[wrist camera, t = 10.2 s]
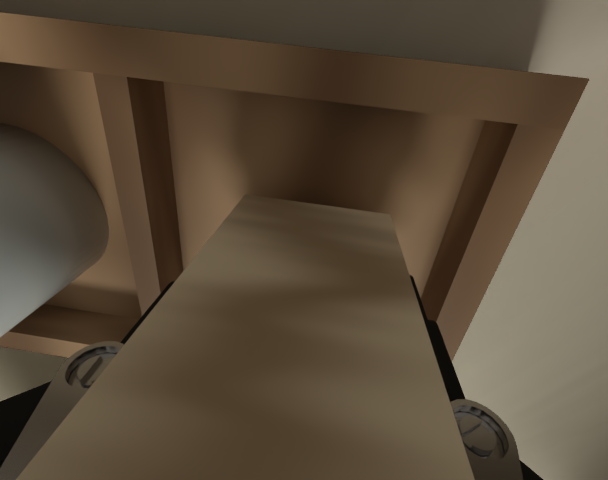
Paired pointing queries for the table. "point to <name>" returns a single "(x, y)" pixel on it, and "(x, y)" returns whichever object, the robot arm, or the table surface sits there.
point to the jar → (43, 223)
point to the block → (272, 365)
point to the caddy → (273, 155)
